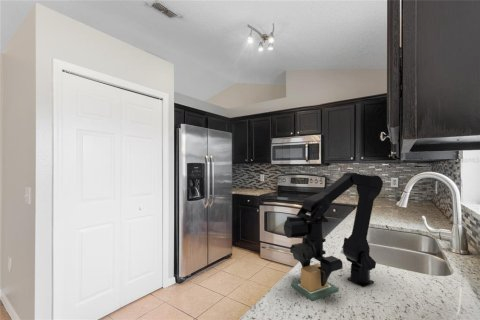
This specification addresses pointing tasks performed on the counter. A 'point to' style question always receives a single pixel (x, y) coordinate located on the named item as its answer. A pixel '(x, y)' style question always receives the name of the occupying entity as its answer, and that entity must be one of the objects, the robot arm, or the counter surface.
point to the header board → (316, 293)
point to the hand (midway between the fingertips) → (314, 280)
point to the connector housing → (311, 277)
